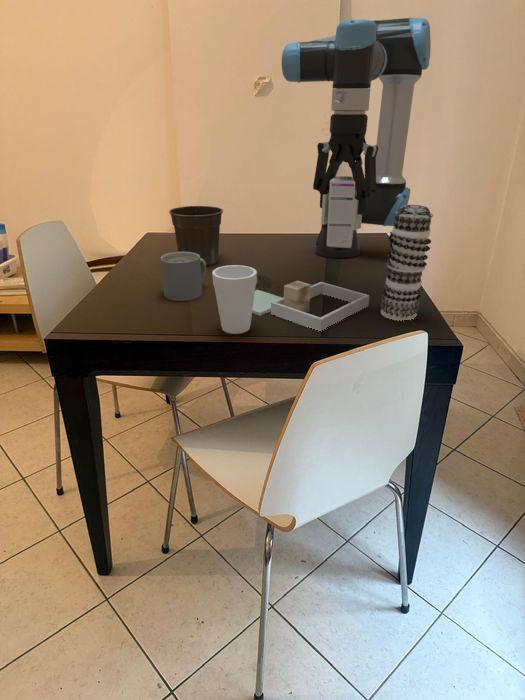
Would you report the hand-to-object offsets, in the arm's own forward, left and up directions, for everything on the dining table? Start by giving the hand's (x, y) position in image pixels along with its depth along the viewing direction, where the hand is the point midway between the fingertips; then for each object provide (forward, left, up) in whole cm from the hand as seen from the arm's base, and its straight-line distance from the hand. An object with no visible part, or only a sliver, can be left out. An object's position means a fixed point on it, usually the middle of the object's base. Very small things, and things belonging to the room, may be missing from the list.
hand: (340, 225), depth 105 cm
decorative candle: (-7, +14, -20) cm, 25 cm away
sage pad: (+11, -15, -20) cm, 27 cm away
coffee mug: (+18, -34, -20) cm, 44 cm away
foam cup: (+25, -9, -20) cm, 33 cm away
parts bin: (+4, -1, -20) cm, 20 cm away
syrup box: (0, 0, -4) cm, 4 cm away
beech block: (+9, -5, -20) cm, 22 cm away
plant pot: (-2, -53, -20) cm, 57 cm away
